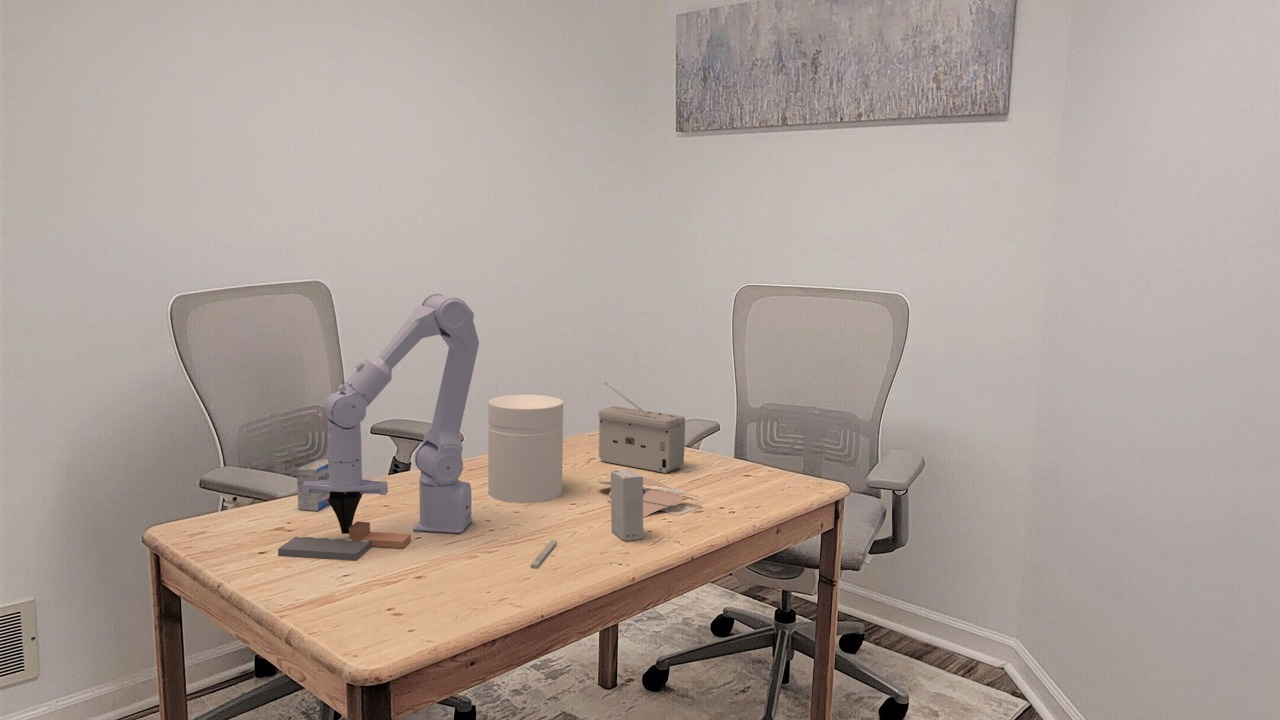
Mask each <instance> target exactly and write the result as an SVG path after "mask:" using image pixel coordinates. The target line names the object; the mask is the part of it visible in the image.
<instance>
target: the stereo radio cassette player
mask: <svg viewBox="0 0 1280 720" xmlns="http://www.w3.org/2000/svg"><path fill="white" fill-rule="evenodd" d="M604 385H606V386H607V387H609V388H610V389H612V390H613V391H614V392H615V393H617V394H618V395H619V396H621V397H622V398H623V399H624V400H626V401H627V402H628V403H630V404H631V405H633V406H634V407H635V408H630V407H629V408H628V407H622V406H616V405H613V406H609V407H604V408H602V409H598V418H599V419H598V420H599V423H598V425H599V427H598V428H599V429H598V432H599V433H598V458H600V461H601V462H603V461H604V462H603V463H611V464H617V465H621V466H627V467H631V468H637V469H643V470H648V471H653V472H659V473H663V474H664V473H666V474H667V473H669V472H673V471H675V470H678V469H680V467H682V466H684V461H685V460H684V459H685V449H686V448H685V445H686V444H685V443H686V442H685V441H686V440H685V439H686V418H685V417H684V416H682V415H677V414H670V413H662V412H655V411H651V410H650V411H649V410H644V409H642V407H640V406H638V405H637V404H636V403H634V402H633V401H632V400H630V399H629V398H628V397H626V396H625V395H623V394H622V393H621V392H619V391H618V390H616V389H615V388H613V387H612V386H610V385H609V384H608V383H607V382H604ZM636 408H637V409H636Z"/></svg>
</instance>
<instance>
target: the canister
mask: <svg viewBox="0 0 1280 720" xmlns="http://www.w3.org/2000/svg"><path fill="white" fill-rule="evenodd" d="M487 411H488V412H487V413H488V421H487V422H488V430H487V431H488V435H487V436H488V441H487V442H488V443H487V444H488V445H487V446H488V447H487V448H488V450H487V451H488V452H487V453H488V454H487V455H488V457H487V458H488V461H487V463H488V465H487V466H488V468H487V471H488V473H487V474H488V477H487V478H488V479H487V480H488V482H487V483H488V486H487V487H488V491H487V493H488V494H487V495H489V496H490V498H492V499H495V500H496V501H497V500H498V501H501V502H507V503H514V502H515V503H516V504H532V503H533V502H535V503H541V502H542V503H543V502H547V501H551V500H554V499H556V498H559V497H560V496H561V495H562V494H563V460H564V459H563V451H564V449H563V448H564V445H563V444H564V443H563V442H564V438H563V437H564V426H563V423H564V400H563V399H561V398H559V397H555V396H550V395H545V394H544V395H542V394H541V395H540V394H509V395H500V396H497V397H493V398H491V399H489V400H488V408H487ZM515 503H514V504H515ZM533 504H534V503H533Z"/></svg>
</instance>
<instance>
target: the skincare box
mask: <svg viewBox="0 0 1280 720" xmlns="http://www.w3.org/2000/svg"><path fill="white" fill-rule="evenodd" d="M643 478H644V476H643V475H640V474H639V473H637V472H635V471H634V470H632V469H630V468H627V469H626V468H625V469H618V470H611V471H610V482H611V485H610V487H611V488H610V491H611V502H610V507H611V508H610V513H611V515H610V516H611V517H610V519H611V532H612V533H613V534H614V535H616V537H619V538H620V539H621V540H623V541H625V542H628V541H637V540H642V539H643V538H644V517H643Z"/></svg>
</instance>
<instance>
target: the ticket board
mask: <svg viewBox="0 0 1280 720" xmlns="http://www.w3.org/2000/svg"><path fill="white" fill-rule="evenodd" d="M371 548H372V546H371V541H366V540H351V539H349V538H347V539H346V538H334V537H333V538H332V537H318V536H317V537H316V536H312V537H311V536H300V535H295V536H294V537H292V538H291V539H290V540H288V541H286V542H285V543H284V544H283V545H281V546H280V547H279V548H278V549H277V553H278V554H277V556H279V557H280V556H281V557H282V556H283V557H295V558H296V557H298V558H313V559H329V560H343V561H344V560H345V561H358V560H359V559H360V558H361V557H362V556H364V555H365V554H366V552H367V551H369V550H370V549H371Z"/></svg>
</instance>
